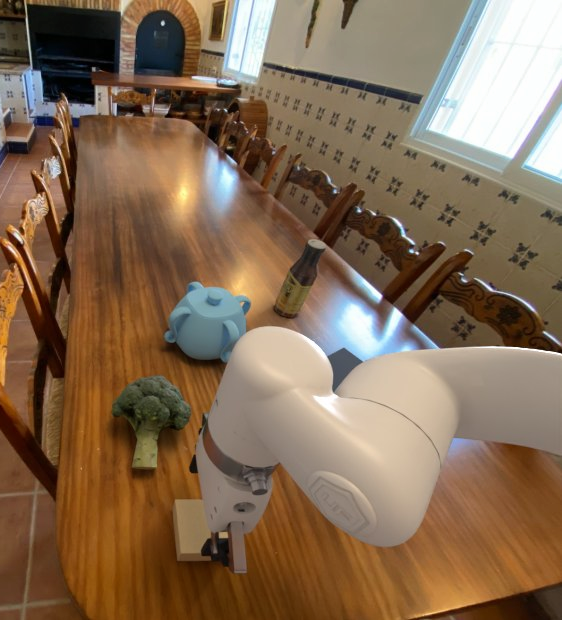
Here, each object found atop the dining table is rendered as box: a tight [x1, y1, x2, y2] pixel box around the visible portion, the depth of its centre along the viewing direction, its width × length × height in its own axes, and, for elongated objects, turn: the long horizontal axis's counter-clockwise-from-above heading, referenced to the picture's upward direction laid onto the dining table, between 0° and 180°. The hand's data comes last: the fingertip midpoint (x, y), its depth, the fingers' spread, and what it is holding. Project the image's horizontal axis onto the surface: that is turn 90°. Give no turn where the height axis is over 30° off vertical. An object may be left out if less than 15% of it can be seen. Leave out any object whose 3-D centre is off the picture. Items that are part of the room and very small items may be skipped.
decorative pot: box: [163, 281, 252, 364], centre depth 76 cm, size 16×16×14 cm
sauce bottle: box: [273, 238, 327, 318], centre depth 84 cm, size 7×6×20 cm
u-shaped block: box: [326, 347, 364, 393], centre depth 70 cm, size 20×16×2 cm
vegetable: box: [110, 374, 192, 470], centre depth 58 cm, size 12×13×15 cm
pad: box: [171, 499, 228, 562], centre depth 49 cm, size 7×7×3 cm
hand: (206, 508), depth 45 cm, fingers open, 9 cm apart
